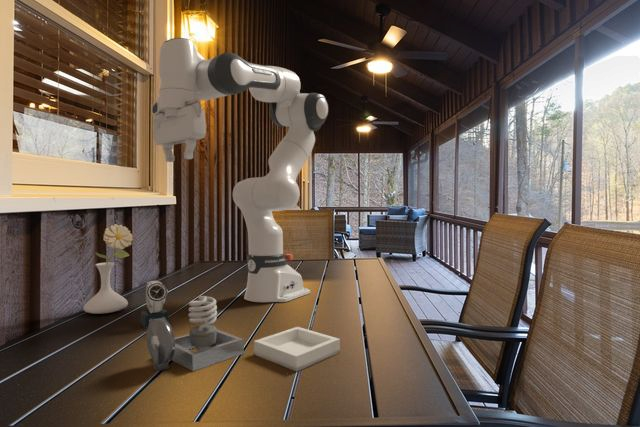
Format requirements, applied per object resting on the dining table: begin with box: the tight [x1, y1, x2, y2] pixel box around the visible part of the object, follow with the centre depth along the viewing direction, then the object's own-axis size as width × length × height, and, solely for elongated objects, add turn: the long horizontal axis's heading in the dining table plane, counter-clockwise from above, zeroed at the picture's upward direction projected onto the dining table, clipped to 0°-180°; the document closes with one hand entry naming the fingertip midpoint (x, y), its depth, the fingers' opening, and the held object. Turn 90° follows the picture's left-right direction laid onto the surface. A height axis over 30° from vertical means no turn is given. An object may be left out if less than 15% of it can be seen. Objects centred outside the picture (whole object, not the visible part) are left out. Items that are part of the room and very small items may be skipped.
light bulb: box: [187, 295, 218, 352], centre depth 82 cm, size 6×6×12 cm
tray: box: [253, 326, 341, 372], centre depth 82 cm, size 12×12×3 cm
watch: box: [140, 280, 169, 329], centre depth 103 cm, size 6×8×11 cm
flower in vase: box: [82, 223, 133, 315], centre depth 116 cm, size 13×11×25 cm
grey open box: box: [146, 318, 245, 372], centre depth 80 cm, size 16×12×9 cm
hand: (178, 160), depth 101 cm, fingers open, 8 cm apart
